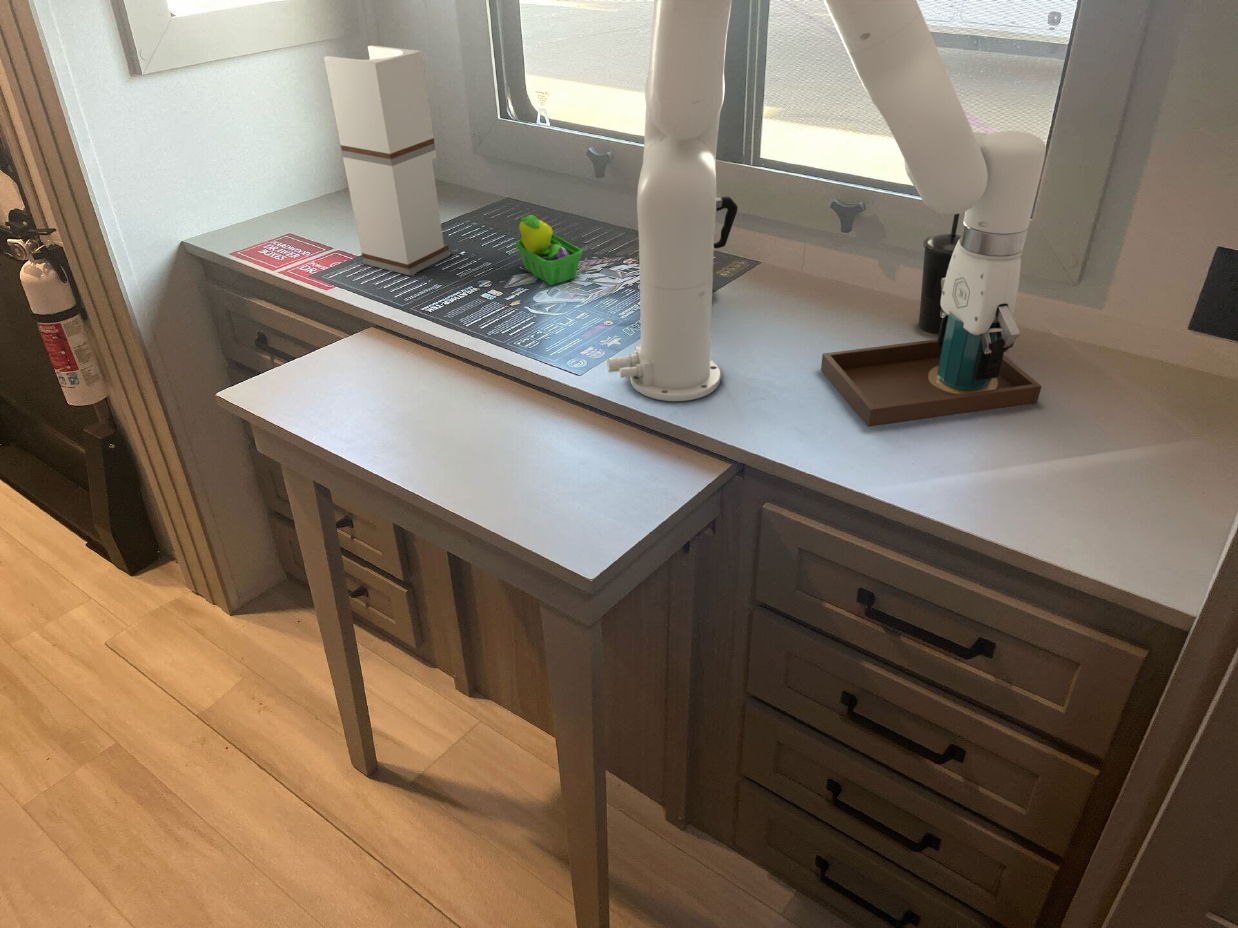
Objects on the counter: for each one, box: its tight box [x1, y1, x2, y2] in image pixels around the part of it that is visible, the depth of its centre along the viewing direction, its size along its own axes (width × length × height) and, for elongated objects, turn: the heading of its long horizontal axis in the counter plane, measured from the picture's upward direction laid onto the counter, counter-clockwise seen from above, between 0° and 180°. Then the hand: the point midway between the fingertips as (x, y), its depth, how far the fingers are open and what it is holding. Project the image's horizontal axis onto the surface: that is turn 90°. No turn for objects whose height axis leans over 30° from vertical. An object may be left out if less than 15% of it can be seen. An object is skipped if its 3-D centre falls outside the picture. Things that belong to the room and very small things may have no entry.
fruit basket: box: [514, 214, 583, 286], centre depth 157 cm, size 11×9×11 cm
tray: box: [820, 338, 1043, 428], centre depth 123 cm, size 24×16×3 cm, turn 102°
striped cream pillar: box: [323, 45, 451, 276], centre depth 158 cm, size 11×11×35 cm
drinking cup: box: [918, 213, 961, 335], centre depth 133 cm, size 8×8×20 cm
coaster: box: [928, 366, 998, 395], centre depth 125 cm, size 9×9×1 cm
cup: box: [937, 311, 997, 391], centre depth 122 cm, size 7×7×10 cm
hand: (966, 360), depth 123 cm, fingers open, 9 cm apart
